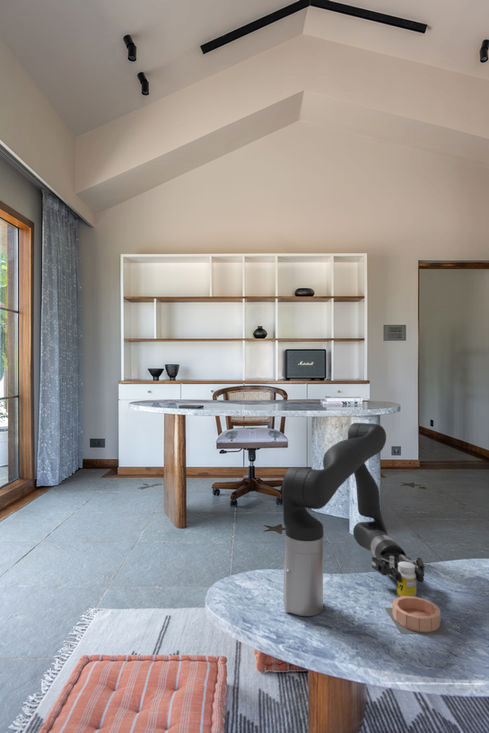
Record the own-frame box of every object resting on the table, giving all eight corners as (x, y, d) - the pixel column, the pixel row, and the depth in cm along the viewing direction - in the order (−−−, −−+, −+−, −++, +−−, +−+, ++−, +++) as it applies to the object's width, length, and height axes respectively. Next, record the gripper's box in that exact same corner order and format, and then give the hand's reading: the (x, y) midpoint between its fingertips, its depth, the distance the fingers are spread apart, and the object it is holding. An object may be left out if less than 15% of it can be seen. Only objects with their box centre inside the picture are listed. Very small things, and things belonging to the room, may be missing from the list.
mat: (401, 635, 94) (401, 633, 94) (384, 608, 105) (384, 607, 105) (451, 635, 94) (451, 634, 94) (429, 609, 105) (429, 608, 105)
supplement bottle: (393, 593, 113) (393, 560, 113) (411, 593, 113) (410, 560, 113) (401, 603, 108) (401, 568, 108) (419, 602, 108) (419, 568, 109)
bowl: (402, 632, 94) (402, 618, 95) (387, 608, 104) (387, 595, 105) (448, 632, 95) (448, 618, 95) (428, 609, 105) (428, 596, 105)
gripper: (362, 538, 125) (382, 563, 108) (412, 539, 125) (439, 563, 108) (362, 565, 125) (382, 593, 108) (412, 565, 125) (439, 594, 108)
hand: (410, 578), depth 108 cm, fingers closed on supplement bottle, 4 cm apart
